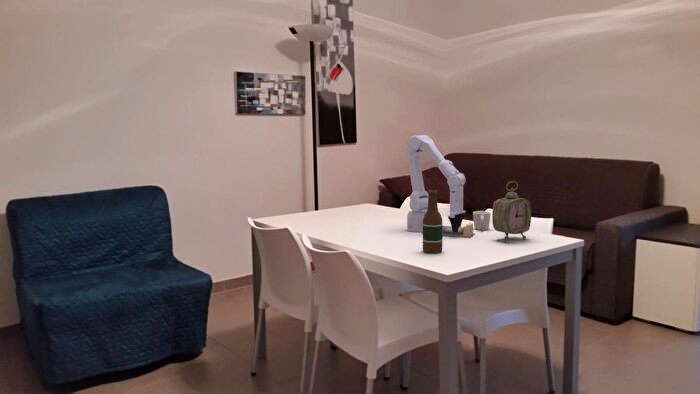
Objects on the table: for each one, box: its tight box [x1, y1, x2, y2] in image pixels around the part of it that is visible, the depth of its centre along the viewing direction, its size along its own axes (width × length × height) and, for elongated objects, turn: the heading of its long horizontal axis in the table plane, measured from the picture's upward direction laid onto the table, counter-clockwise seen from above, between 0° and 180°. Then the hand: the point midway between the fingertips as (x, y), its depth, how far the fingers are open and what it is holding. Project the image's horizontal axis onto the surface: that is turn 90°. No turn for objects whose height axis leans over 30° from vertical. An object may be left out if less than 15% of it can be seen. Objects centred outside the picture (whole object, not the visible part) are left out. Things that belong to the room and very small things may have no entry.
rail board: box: [442, 222, 476, 239], centre depth 243 cm, size 19×8×5 cm, turn 64°
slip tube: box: [442, 225, 464, 234], centre depth 243 cm, size 11×3×3 cm, turn 64°
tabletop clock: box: [491, 180, 532, 243], centre depth 229 cm, size 14×9×25 cm, turn 122°
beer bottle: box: [422, 189, 444, 255], centre depth 211 cm, size 8×8×24 cm
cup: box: [472, 210, 492, 231], centre depth 253 cm, size 11×8×8 cm
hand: (456, 231), depth 242 cm, fingers closed on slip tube, 3 cm apart
